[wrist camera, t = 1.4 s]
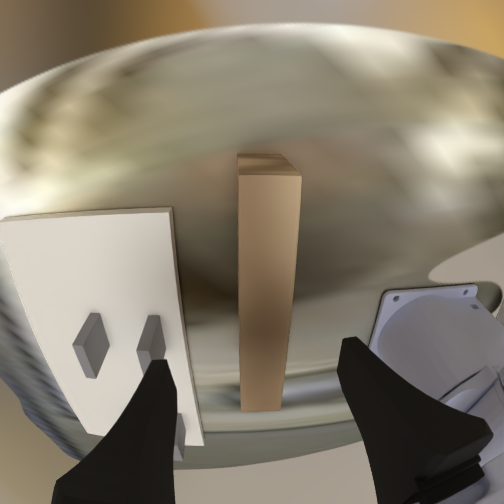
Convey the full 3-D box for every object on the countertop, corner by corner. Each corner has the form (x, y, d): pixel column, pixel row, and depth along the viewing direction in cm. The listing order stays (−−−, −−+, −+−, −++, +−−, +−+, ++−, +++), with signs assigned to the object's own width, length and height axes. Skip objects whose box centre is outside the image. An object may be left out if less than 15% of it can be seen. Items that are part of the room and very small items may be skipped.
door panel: (280, 153, 17) (302, 175, 12) (271, 347, 23) (280, 410, 18) (237, 153, 17) (238, 175, 12) (239, 348, 23) (241, 412, 18)
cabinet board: (172, 206, 18) (154, 237, 14) (204, 438, 28) (202, 474, 24) (5, 217, 18) (-33, 243, 13) (90, 426, 28) (80, 458, 24)
